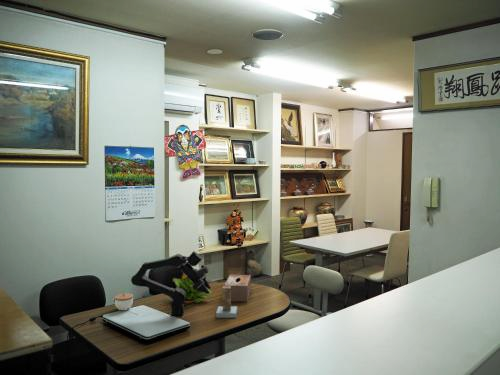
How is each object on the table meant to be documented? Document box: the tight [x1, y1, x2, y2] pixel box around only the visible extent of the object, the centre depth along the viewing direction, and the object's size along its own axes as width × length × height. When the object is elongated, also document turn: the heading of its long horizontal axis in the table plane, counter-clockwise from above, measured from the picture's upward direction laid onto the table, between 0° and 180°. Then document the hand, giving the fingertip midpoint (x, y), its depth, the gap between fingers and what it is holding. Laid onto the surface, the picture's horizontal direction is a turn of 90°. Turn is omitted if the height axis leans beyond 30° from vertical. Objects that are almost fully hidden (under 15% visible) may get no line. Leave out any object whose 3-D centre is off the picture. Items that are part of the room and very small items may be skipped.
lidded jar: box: [114, 292, 134, 311], centre depth 240 cm, size 11×11×9 cm
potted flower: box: [171, 272, 214, 304], centre depth 255 cm, size 25×24×18 cm
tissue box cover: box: [223, 274, 252, 302], centre depth 267 cm, size 26×14×10 cm, turn 175°
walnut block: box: [222, 285, 232, 311], centre depth 231 cm, size 4×4×13 cm
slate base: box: [215, 305, 238, 319], centre depth 231 cm, size 11×11×2 cm
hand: (209, 290), depth 230 cm, fingers open, 9 cm apart
